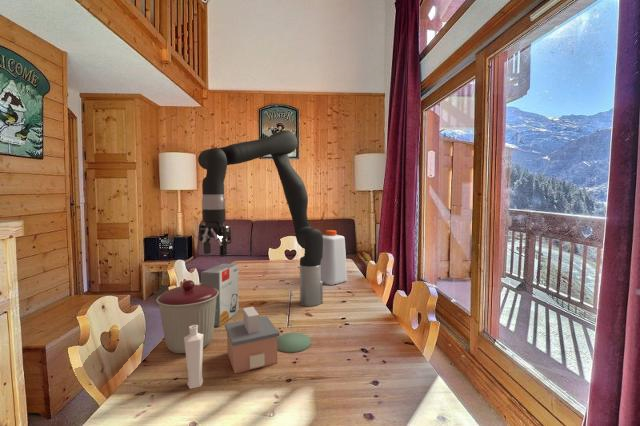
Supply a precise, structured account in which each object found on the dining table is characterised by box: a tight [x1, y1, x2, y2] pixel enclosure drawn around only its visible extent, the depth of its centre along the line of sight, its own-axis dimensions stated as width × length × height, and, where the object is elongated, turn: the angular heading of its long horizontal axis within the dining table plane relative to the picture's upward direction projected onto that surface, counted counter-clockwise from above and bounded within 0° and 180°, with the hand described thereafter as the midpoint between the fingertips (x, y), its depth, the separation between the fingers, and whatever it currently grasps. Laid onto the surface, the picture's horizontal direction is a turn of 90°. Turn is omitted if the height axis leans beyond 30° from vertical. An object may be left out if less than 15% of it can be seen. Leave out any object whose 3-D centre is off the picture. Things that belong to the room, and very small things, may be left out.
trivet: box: [277, 332, 312, 354], centre depth 99 cm, size 12×12×1 cm
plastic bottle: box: [321, 229, 348, 286], centre depth 168 cm, size 15×15×28 cm
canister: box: [155, 279, 219, 354], centre depth 97 cm, size 18×18×21 cm
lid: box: [224, 306, 280, 346], centre depth 89 cm, size 13×13×7 cm
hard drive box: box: [200, 263, 240, 327], centre depth 118 cm, size 16×8×20 cm, turn 168°
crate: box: [226, 332, 278, 374], centre depth 90 cm, size 12×13×8 cm
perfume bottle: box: [184, 325, 204, 390], centre depth 77 cm, size 5×4×15 cm
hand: (215, 255), depth 105 cm, fingers open, 8 cm apart
